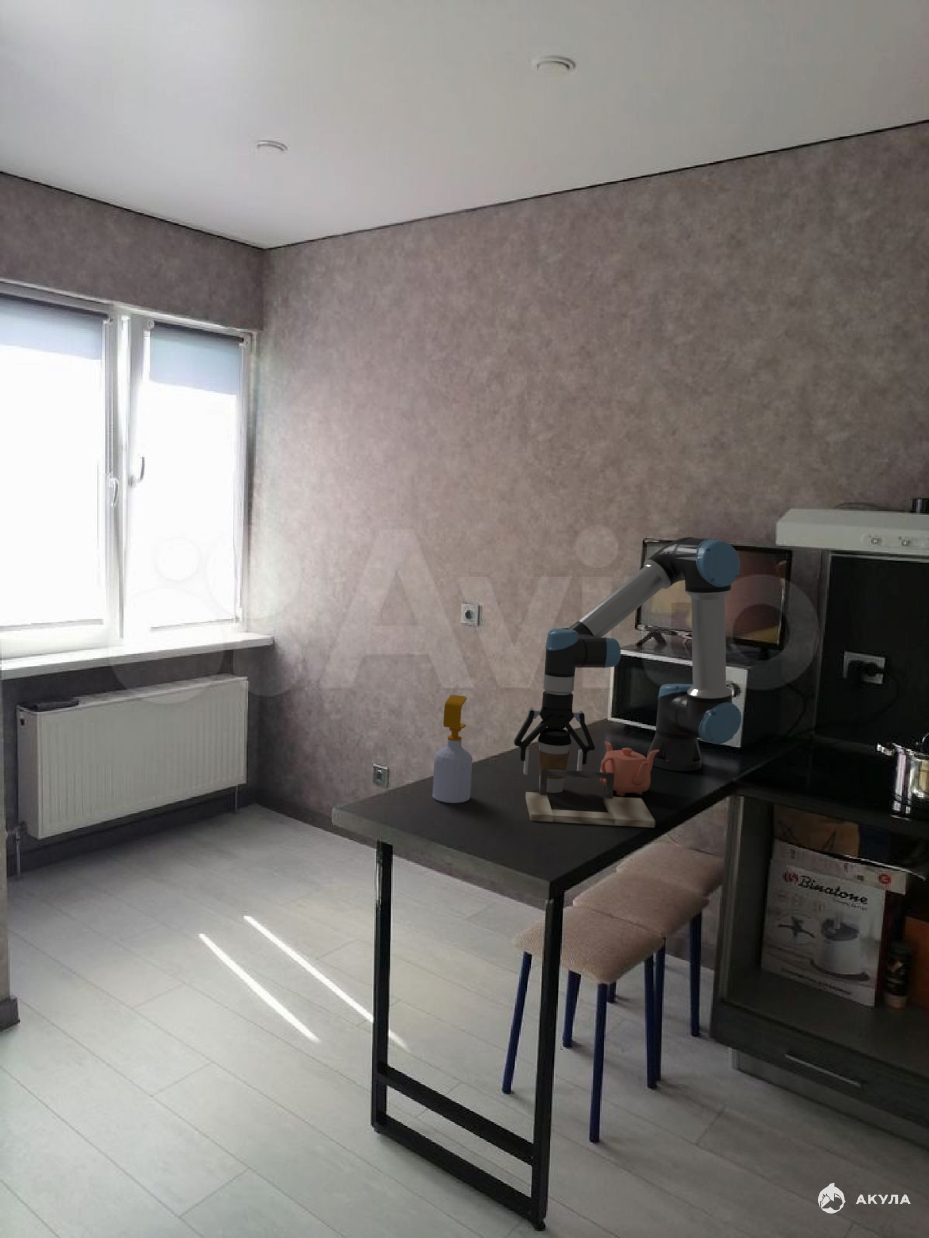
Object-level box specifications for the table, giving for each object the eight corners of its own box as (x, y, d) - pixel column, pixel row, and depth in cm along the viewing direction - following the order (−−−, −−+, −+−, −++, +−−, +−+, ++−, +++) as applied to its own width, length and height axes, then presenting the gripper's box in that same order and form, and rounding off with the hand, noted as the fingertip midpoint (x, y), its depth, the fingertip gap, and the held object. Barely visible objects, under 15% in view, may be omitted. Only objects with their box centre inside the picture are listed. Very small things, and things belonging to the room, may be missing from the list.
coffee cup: (567, 785, 232) (571, 728, 230) (568, 795, 224) (572, 736, 222) (534, 782, 233) (538, 725, 231) (533, 792, 225) (538, 733, 223)
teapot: (601, 778, 240) (605, 738, 239) (656, 787, 235) (659, 746, 234) (589, 793, 227) (592, 750, 226) (646, 803, 222) (650, 759, 220)
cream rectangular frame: (640, 804, 221) (643, 774, 220) (654, 827, 205) (657, 795, 204) (525, 797, 220) (527, 767, 219) (530, 820, 205) (532, 788, 204)
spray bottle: (474, 795, 220) (481, 695, 217) (462, 806, 212) (468, 702, 208) (440, 789, 223) (445, 691, 220) (426, 800, 214) (432, 697, 211)
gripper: (605, 691, 229) (599, 773, 232) (507, 685, 229) (501, 767, 232) (610, 697, 222) (603, 782, 224) (509, 691, 221) (503, 776, 224)
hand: (552, 775), depth 228 cm, fingers open, 13 cm apart
